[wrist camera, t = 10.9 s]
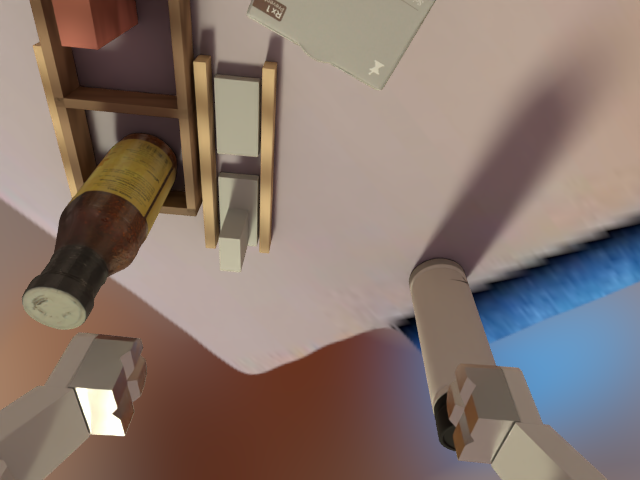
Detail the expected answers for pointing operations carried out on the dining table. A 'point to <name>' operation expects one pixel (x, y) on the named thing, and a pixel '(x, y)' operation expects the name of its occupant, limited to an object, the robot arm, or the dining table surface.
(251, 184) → the broken grey strip
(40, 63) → the oak lane rails
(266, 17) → the skincare box
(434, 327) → the travel mug
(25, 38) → the dining table surface
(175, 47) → the wooden condiment caddy
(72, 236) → the sauce bottle
